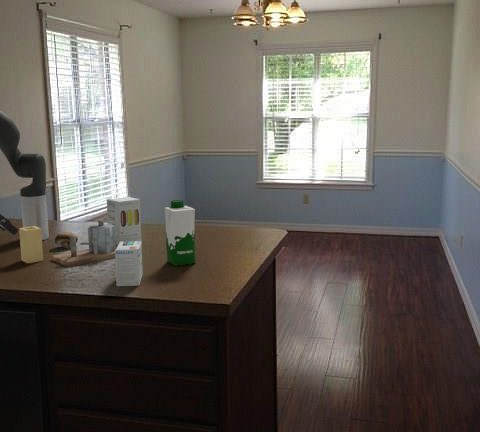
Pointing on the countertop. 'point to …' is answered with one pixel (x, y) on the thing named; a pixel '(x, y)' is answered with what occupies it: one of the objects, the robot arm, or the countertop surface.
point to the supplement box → (125, 218)
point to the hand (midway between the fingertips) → (11, 230)
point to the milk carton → (180, 233)
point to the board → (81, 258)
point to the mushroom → (64, 239)
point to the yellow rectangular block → (31, 244)
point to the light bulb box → (128, 263)
